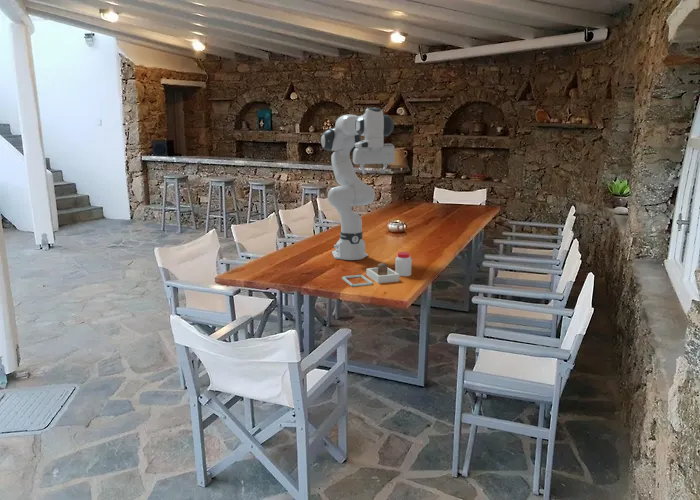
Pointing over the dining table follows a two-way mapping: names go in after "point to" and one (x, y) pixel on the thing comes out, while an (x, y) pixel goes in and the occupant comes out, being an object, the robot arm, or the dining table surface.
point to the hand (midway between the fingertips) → (373, 173)
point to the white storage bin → (390, 276)
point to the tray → (357, 284)
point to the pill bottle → (403, 264)
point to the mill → (382, 269)
